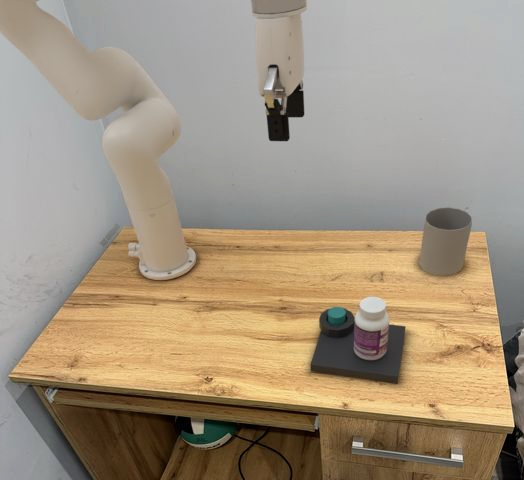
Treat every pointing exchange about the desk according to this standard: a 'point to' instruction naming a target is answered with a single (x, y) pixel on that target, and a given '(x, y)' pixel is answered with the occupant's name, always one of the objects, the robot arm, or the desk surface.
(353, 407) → the desk surface
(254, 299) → the desk surface
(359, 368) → the scale
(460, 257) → the cup
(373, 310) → the pill bottle
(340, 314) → the button
